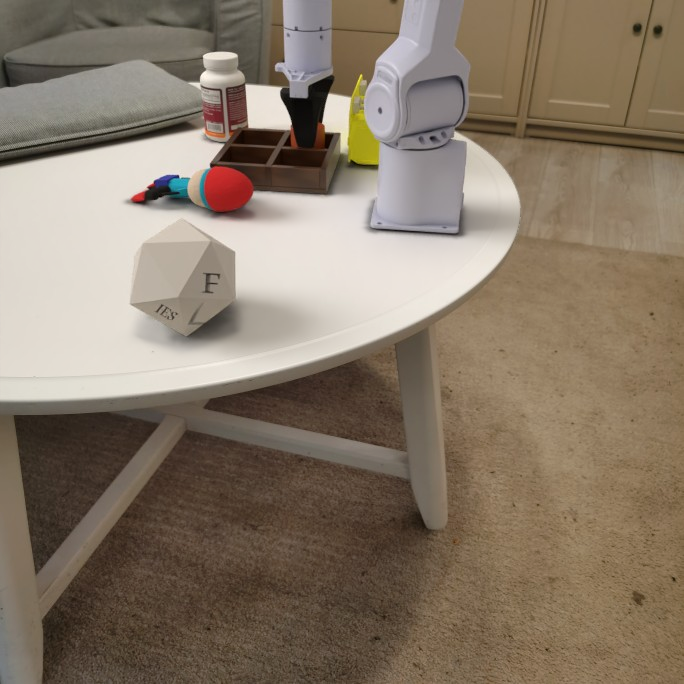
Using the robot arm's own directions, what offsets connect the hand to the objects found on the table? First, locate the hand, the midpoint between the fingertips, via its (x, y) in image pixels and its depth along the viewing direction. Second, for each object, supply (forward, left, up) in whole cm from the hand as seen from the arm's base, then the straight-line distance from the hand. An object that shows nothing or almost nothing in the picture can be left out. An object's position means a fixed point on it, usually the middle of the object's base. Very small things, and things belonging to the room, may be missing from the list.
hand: (308, 140), depth 92 cm
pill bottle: (+13, -9, -3) cm, 16 cm away
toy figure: (+10, +16, -3) cm, 19 cm away
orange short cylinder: (0, 0, -1) cm, 1 cm away
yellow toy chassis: (-8, -7, -3) cm, 11 cm away
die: (+4, +39, -3) cm, 40 cm away
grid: (+3, +3, -3) cm, 6 cm away
